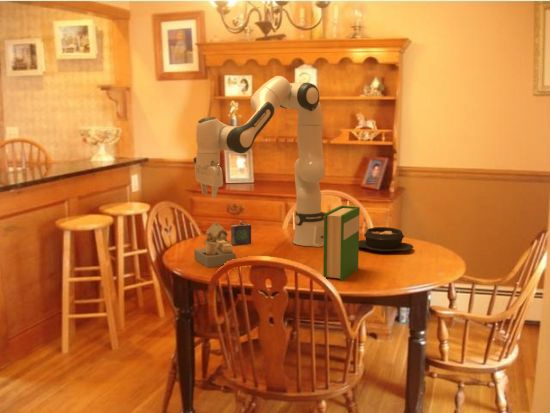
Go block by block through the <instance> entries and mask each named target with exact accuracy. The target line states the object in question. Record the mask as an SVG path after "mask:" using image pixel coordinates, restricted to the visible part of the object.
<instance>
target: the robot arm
mask: <svg viewBox="0 0 550 413" xmlns="http://www.w3.org/2000/svg"><path fill="white" fill-rule="evenodd" d="M250 107H251V109H252V111H253V112H254V114H253V115H252V116H251V117H250V118H249V119H248V120H247V121H246V123H244V124H242V125H238V126H236V125H235V126H234V125H228V124H225V123H223V122H221V121H220V120H219V119H218V118H217V117H214V116H210V117H204V118H201V119H199V120H198V121H197V124H196V132H195V133H196V134H195V135H196V136H195V138H196V139H195V141H196V145H197V149H196V155H195V156H194V157H193V159H192V162H193V164H194V177H195V181H196V182H198V183H200V188H201V194H202V195H208V188H207V186H209V187H211V193H210V196H211V198H212V199H217V197H218V190H219V188H221V187H223V185H224V177H223V176H224V175H223V169H222V167H221V166H220V165H221V150H222V151H228V152H234V153H236V154H237V153H238V154H245V153H247V152H248V151H250V149H251V148H252V146H253V145H254V143H255V140H256V138H257V137H258V135H259V134H260V133H261V132H262V130H263V129H264V128H265V127H266V126H267V125H268V123H269V122H270V121H271V120H272V118H273V116H274V115H275V112H276V111H277V110H278V109H279V108H282V109H290V110H295V111H296V113H297V130H296V145H297V152H298V158H297V159H296V160H295V162H294V164H293V167H294V168H293V171H294V182H295V183H294V184H295V192H296V205H295V206H296V211H295V215H294V216H295V220H294V221H295V228H294V229H295V230H294V235H293V241H292V243H293V244H295V245H297V246H303V247H316V248H321V247H324V213H326V212H324V211H322V192H321V187H320V181H321V180H323V179H324V177H325V176H326V169H325V159H324V158H325V156H324V148H323V126H324V125H323V124H324V122H323V109H322V105H321V102H320V91H319V89H318V86H316V85H315V84H313V83H311V82H297V81H295V82H292V83H291V82H290V81H289V80H288V79H287V78H285V77H284V76H282V75H275V76H274V77H272V78H270V79H269V80H268V81H266V82H265V83H263V84H262V85H261V86H260V87H259V88H258V89H257V90H256V91H255V92H254V93H253V94H252V96H251V98H250Z"/></svg>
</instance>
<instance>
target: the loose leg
mask: <svg viewBox="0 0 550 413" xmlns="http://www.w3.org/2000/svg"><path fill="white" fill-rule="evenodd" d="M205 248H206V256H211V255H216V253H215V243H206V245H205Z"/></svg>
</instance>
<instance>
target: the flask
mask: <svg viewBox="0 0 550 413" xmlns="http://www.w3.org/2000/svg"><path fill="white" fill-rule="evenodd" d="M230 244H231V245H232V247H235V246H245V245H247V246H248V245H252V225H251V224H250V223H244V222H242V220H239V221H238V224H233V225H230Z"/></svg>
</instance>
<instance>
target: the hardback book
mask: <svg viewBox="0 0 550 413" xmlns="http://www.w3.org/2000/svg"><path fill="white" fill-rule="evenodd" d="M360 211H361V210H360V206H350V205H339V206H337V207H334V208H332V209H331V210H329V211H327V212H326V213H325V212H323V213H324V246H323V266H322V267H323V275H322V276H324V277H326V279H328V278H333V279H339V280H340V282H344V281H345V280H346V279H347V278H349V277H350V276H351V275H352V274H354V272H356V271H357V270H358V269H359V249H360V247H359V241H360V215H361V214H360Z"/></svg>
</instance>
